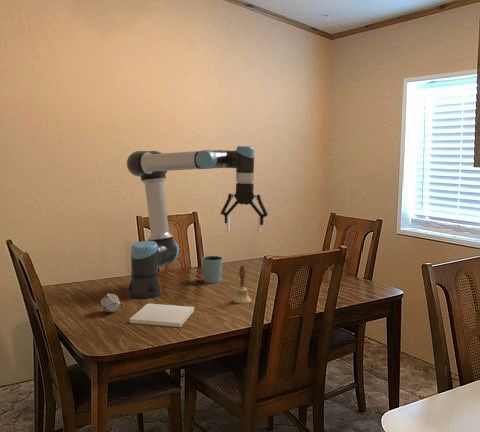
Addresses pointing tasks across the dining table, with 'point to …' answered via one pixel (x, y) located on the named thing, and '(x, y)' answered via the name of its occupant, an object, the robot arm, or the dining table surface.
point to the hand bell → (242, 289)
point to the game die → (110, 302)
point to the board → (162, 315)
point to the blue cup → (212, 269)
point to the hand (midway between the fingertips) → (243, 231)
